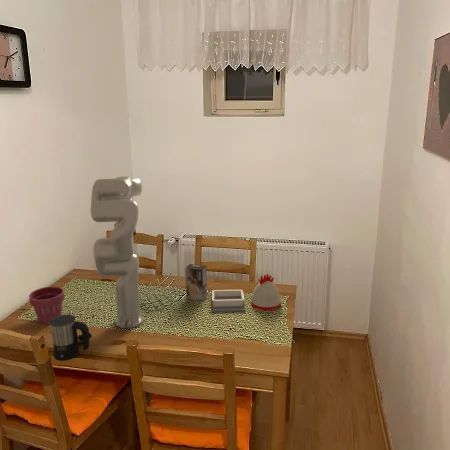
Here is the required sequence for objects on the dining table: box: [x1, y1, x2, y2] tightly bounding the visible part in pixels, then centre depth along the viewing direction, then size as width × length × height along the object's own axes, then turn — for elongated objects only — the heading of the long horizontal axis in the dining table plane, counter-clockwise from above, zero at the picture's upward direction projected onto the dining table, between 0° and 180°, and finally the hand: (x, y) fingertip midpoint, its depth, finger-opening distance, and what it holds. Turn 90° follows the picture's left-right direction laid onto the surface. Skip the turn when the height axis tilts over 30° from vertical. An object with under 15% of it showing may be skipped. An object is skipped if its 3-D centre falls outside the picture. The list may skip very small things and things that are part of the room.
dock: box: [211, 289, 246, 314], centre depth 213 cm, size 20×15×4 cm
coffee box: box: [184, 263, 208, 301], centre depth 218 cm, size 9×6×16 cm
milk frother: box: [48, 314, 93, 362], centre depth 173 cm, size 14×16×15 cm
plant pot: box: [28, 286, 66, 325], centre depth 197 cm, size 14×14×13 cm
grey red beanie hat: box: [250, 273, 281, 311], centre depth 210 cm, size 14×14×15 cm
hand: (126, 237), depth 217 cm, fingers open, 9 cm apart
